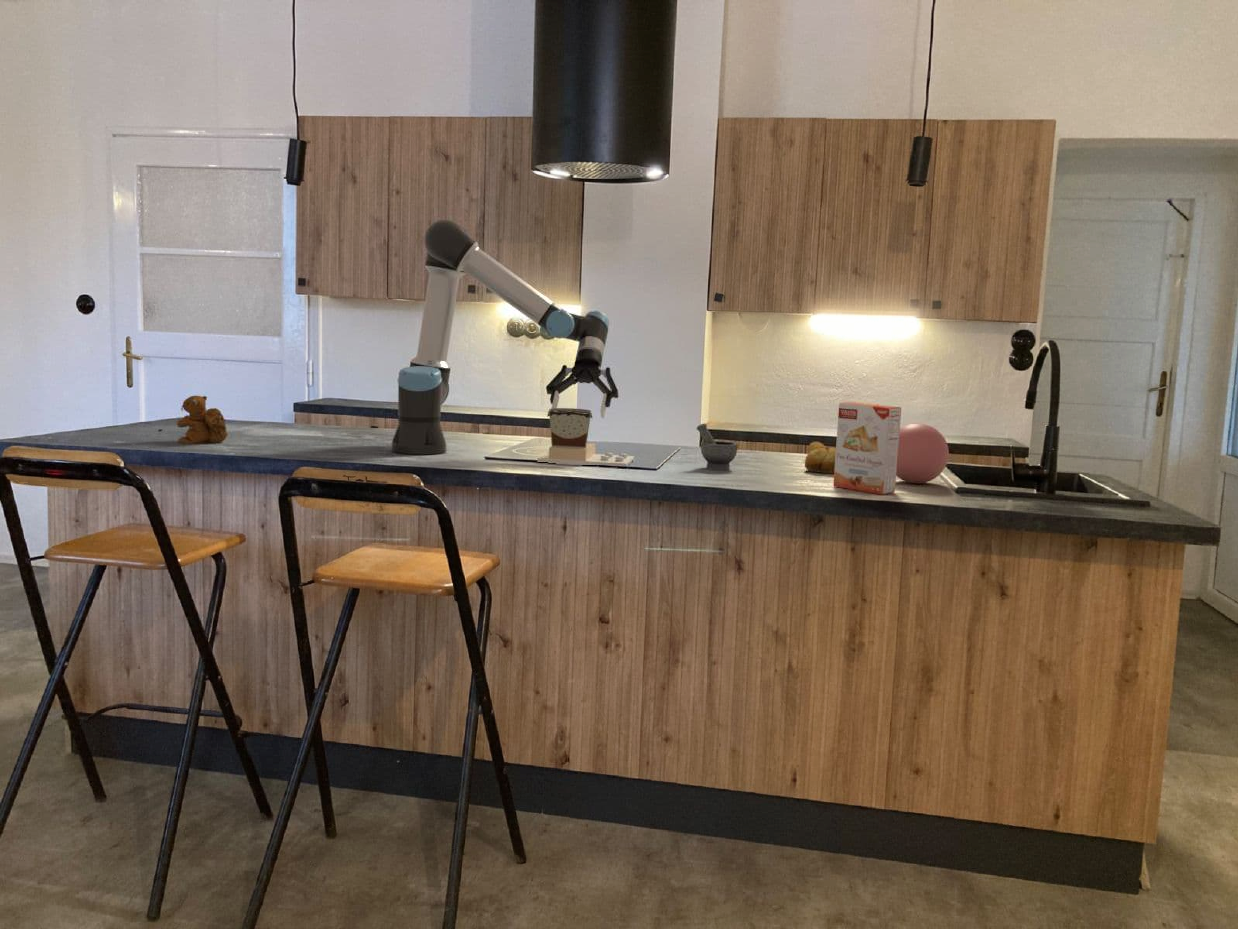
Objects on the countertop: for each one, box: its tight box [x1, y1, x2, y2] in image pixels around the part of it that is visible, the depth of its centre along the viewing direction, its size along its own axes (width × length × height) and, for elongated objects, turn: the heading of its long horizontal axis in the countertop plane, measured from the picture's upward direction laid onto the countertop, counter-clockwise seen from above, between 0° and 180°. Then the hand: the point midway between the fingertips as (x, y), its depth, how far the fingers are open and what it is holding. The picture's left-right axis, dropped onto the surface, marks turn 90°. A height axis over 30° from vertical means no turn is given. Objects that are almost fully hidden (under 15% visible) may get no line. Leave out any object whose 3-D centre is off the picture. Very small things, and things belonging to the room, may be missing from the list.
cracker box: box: [832, 401, 902, 496], centre depth 245 cm, size 14×6×21 cm, turn 45°
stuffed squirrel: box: [176, 395, 229, 445], centre depth 286 cm, size 10×14×13 cm
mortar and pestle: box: [696, 422, 739, 471], centre depth 274 cm, size 11×9×12 cm
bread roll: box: [804, 441, 836, 474], centre depth 275 cm, size 13×10×8 cm
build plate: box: [536, 442, 635, 466], centre depth 277 cm, size 24×16×4 cm, turn 82°
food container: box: [546, 407, 593, 448], centre depth 276 cm, size 12×6×10 cm, turn 84°
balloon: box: [896, 423, 950, 485], centre depth 263 cm, size 15×20×15 cm
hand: (577, 413), depth 278 cm, fingers open, 13 cm apart
